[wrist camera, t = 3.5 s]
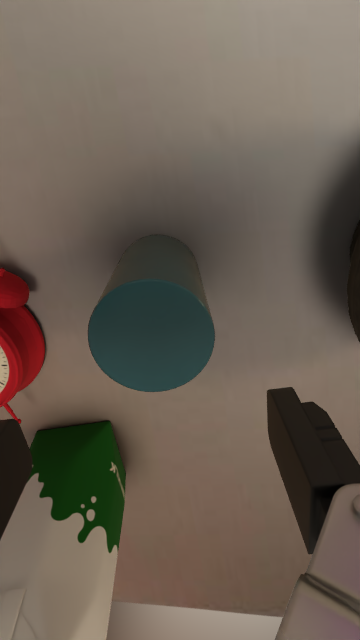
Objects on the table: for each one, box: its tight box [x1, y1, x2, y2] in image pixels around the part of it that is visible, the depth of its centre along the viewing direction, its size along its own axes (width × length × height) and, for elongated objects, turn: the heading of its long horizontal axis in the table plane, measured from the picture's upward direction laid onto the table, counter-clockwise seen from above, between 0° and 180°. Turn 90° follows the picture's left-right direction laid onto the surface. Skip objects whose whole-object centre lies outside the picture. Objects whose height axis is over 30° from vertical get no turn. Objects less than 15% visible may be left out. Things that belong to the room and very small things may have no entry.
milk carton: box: [0, 421, 126, 640], centre depth 25 cm, size 9×9×20 cm
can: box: [88, 235, 215, 392], centre depth 22 cm, size 6×6×11 cm
